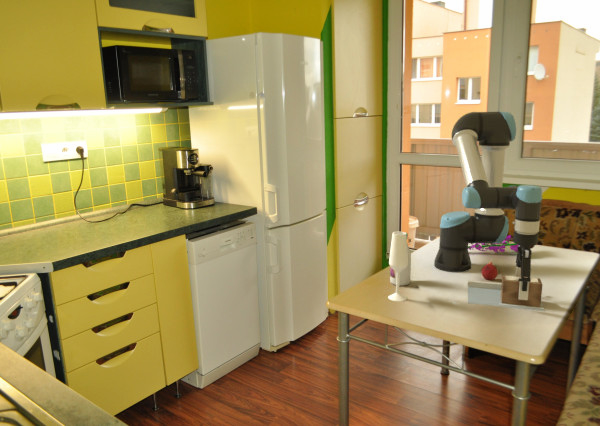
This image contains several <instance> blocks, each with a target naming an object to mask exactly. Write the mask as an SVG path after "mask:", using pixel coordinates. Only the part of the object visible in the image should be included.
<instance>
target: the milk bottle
mask: <svg viewBox="0 0 600 426" xmlns="http://www.w3.org/2000/svg"><path fill="white" fill-rule="evenodd" d="M405 233H406V237H407V240H408V239H409V238H408V236H409V235H408V234H409V233H408V232H405ZM407 253H408V266H407V267H406V268H405V269H404V270H403V271H402V272H400V284H399V287H401V286H402V287H403V286H408V285H409V284H410V283H411V275H412V274H411V269H412V267H411V266H412V264H411V263H412V254H411V249H410V247H409V244H408V243H407ZM396 273H397V272H395V271H394V270H393V269H392V268H391V267H390V273H389V274H390V275H389V276H390V277H389V281H390V283H391V284H392V285H394V286H396Z"/></svg>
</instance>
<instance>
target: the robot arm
mask: <svg viewBox="0 0 600 426" xmlns="http://www.w3.org/2000/svg"><path fill="white" fill-rule="evenodd" d="M452 127H453V128H452V130H451V142H452V145H453V146H454V147H455V148H456V150H457V151H456V152H457V155H458V159H459V163H460V166H461V170H462V175H463V178H464V184H465V187H464V188H463V189H462V193H461V199H462V201H461V203H462V205H463V207H464V208H466V209H473V210H474V214H473V215H471V213H470V212H468V211H451V212H447V213H445V214H443V215H442V216H441V218H440V224H439V247H438V250H437V253H436V256H435V258H434V262H433V263H434V268H436V269H438V270H440V271H444V272H452V273H463V272H468V271H470V270H471V269H472V260H471V257H470V253H469V249H468V246H469V245H470V244H471V243H474V244H476V243H485V244H486V243H488V245H491V244H494V243H502V242H503V241H504V240H505V239H506V237H507V236H508V233H509V229H510V225H509V222H510V221H509V218H508V217H507V216H506V215H505V211H503V210H504V209H505V210H508V209H509V210H513V209H514V210H515V214H514V215H515V216H514V221H512V225H514V227H513V228H514V229H513V230H514V231H513V236H512V238H513V239H512V243H515V244H518V249H517V250H518V252H517V253H516V258H515V259H516V260H515V266H516V268H515V275H514V276H517V277H521V279H520V278H519V280H518V281H520V286H519V298H518V299H520V300H528V291H529V282H530V281H531V279H530V278H531V268H532V267H531V266H532V249H531V248H530V246H534V247H535V246H536V245H538V243H539V242H538V241H539V232H540V223H541V219H540V218H541V208H542V200H543V189H542V187H541V186H538V185H535V184H522V185H515V184H514V185H513V184H512V185H508V186H503V182H504V169H505V168H504V166H505V156H506V155H505V154H506V150H507V149H508V148H510V143H511V142H513V141H514V140H515V139H516V136H517V124H516V120H515V118H514V115H513V114H512V113H510V112H508V111H501V110H499V111H472V112H468V113H465V114H463V115H462V116H461V117H459V118H458V119H457V121H456V122H455V124H454V125H453V126H452ZM479 148H480V149H481V150H482V151H481V153H480V151H479ZM524 277H527V278H524Z"/></svg>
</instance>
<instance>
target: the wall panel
mask: <svg viewBox="0 0 600 426" xmlns="http://www.w3.org/2000/svg"><path fill="white" fill-rule="evenodd" d="M501 285H502V282H493V281H481V280H470V279H469V280H467V303H468V304H471V305H473V304H474V305H480V306H481V305H482V306H490V307H493V306H494V307H501V308H511V309H513V308H514V309H522V310H531V311H541V312H545V311H546V309H545V307H544V305H543V302H542V301H541V305H540V307H535V306H525V305H515V304H505V303H502V302H501Z"/></svg>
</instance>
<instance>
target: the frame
mask: <svg viewBox="0 0 600 426" xmlns="http://www.w3.org/2000/svg"><path fill="white" fill-rule="evenodd" d="M501 276H502V277H501V283H502V285H501V302H502V303H505V304H515V305H525V306H535V307H540V305H541V302H542V295H543V292H542V291H543V283H542V280H541V278H539V277H530V279H531V281H530V282H529V291H528V300H520V299H518V298H519V286H520V281H518V280H519V278H520V279H521V277H517V276H515V275H514V276H513V275H504V274H503V275H501ZM524 278H527V277H524Z"/></svg>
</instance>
